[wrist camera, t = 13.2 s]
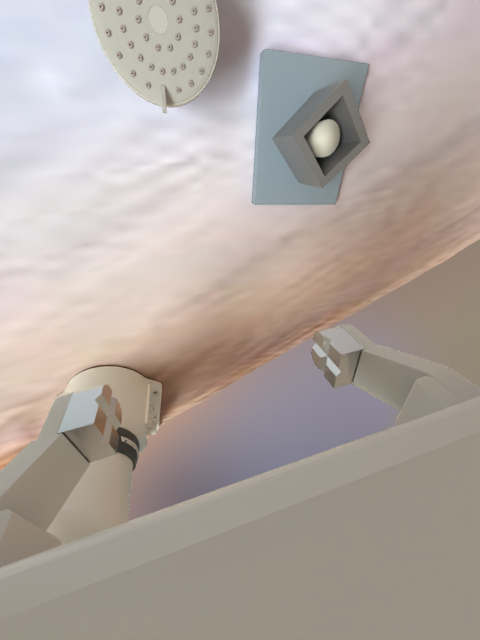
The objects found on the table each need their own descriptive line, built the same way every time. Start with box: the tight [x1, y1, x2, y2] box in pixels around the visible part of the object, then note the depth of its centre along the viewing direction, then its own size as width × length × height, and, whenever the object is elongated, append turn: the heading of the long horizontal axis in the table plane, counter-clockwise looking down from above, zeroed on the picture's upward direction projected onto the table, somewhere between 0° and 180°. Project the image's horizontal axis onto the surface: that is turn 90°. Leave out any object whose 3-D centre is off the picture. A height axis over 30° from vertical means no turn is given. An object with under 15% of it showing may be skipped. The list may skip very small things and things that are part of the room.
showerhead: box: [88, 0, 220, 113], centre depth 20 cm, size 9×7×10 cm
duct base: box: [252, 49, 369, 205], centre depth 28 cm, size 14×12×6 cm
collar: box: [272, 78, 370, 188], centre depth 26 cm, size 6×6×6 cm
